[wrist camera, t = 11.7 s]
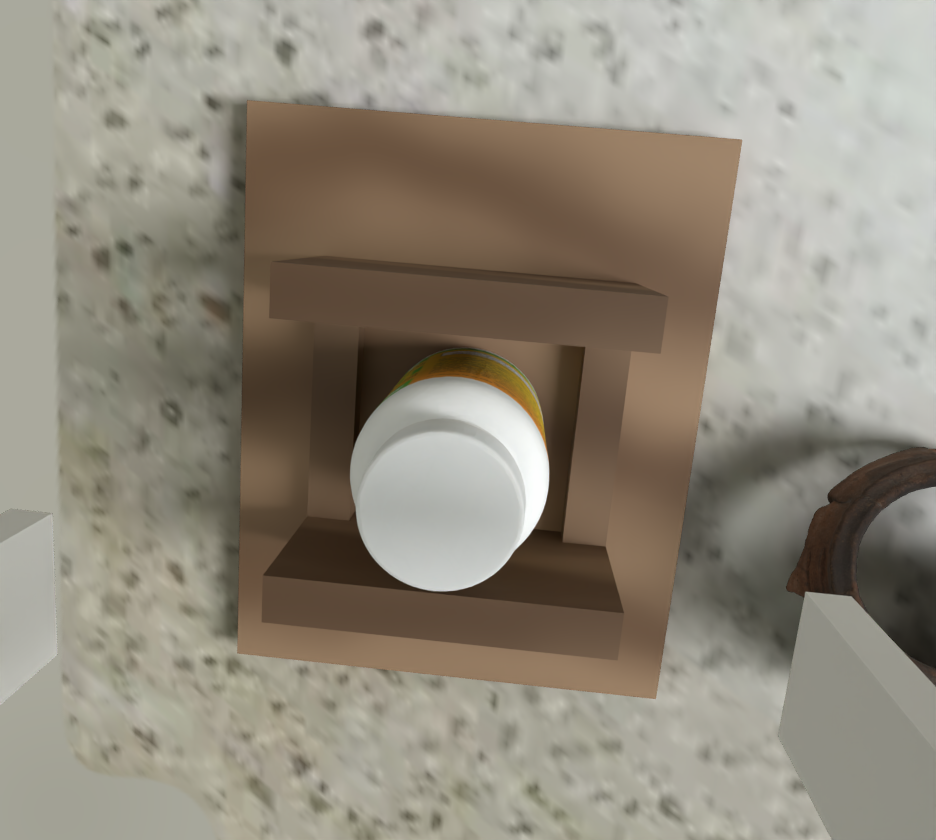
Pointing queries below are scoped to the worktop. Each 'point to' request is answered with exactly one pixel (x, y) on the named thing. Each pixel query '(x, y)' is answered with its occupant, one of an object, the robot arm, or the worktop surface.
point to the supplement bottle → (451, 470)
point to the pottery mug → (858, 524)
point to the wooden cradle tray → (489, 328)
